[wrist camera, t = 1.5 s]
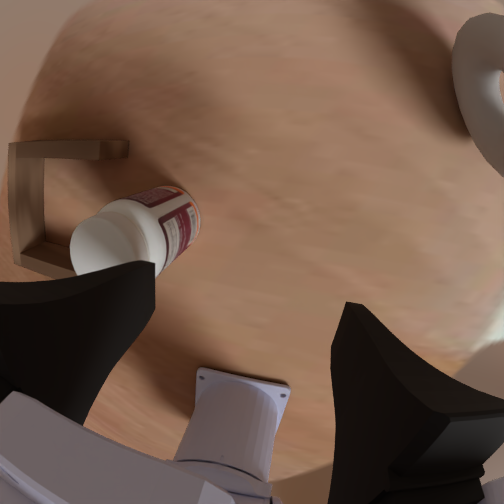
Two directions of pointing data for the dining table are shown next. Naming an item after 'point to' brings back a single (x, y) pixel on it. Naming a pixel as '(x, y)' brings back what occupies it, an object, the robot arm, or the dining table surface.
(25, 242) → the brown u-shaped block
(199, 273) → the dining table surface
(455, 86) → the donut
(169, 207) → the pill bottle
